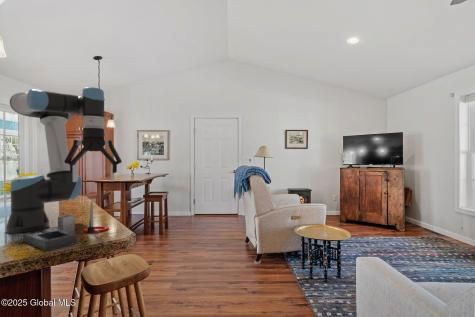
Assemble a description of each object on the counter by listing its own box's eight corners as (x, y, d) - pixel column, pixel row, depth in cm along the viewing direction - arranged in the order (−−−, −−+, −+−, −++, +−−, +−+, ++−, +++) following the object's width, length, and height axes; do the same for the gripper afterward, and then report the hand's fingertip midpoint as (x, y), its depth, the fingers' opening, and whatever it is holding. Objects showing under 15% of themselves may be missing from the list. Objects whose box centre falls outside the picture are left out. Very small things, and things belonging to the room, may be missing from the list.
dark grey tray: (24, 241, 100) (24, 233, 100) (54, 235, 108) (54, 227, 108) (45, 251, 90) (45, 241, 90) (76, 242, 98) (76, 234, 98)
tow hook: (95, 228, 120) (80, 233, 111) (96, 199, 120) (81, 201, 111) (112, 229, 119) (98, 234, 109) (113, 199, 119) (99, 202, 110)
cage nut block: (58, 233, 110) (57, 216, 110) (69, 230, 114) (69, 214, 114) (63, 235, 108) (62, 218, 108) (75, 232, 112) (74, 215, 112)
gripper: (54, 126, 99) (54, 182, 100) (125, 127, 104) (125, 182, 105) (62, 127, 107) (63, 180, 107) (129, 129, 112) (129, 179, 112)
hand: (94, 181), depth 106 cm, fingers open, 13 cm apart
